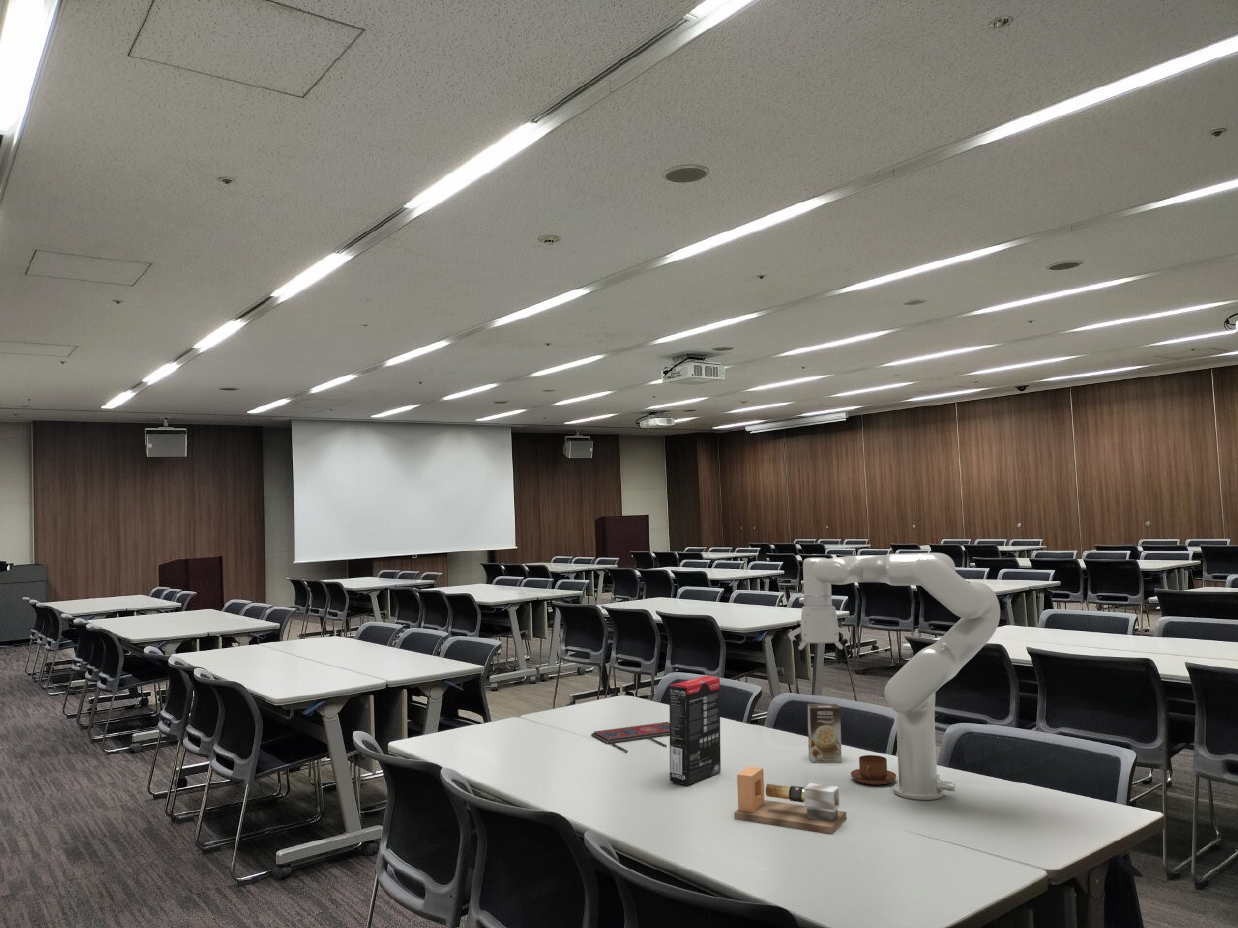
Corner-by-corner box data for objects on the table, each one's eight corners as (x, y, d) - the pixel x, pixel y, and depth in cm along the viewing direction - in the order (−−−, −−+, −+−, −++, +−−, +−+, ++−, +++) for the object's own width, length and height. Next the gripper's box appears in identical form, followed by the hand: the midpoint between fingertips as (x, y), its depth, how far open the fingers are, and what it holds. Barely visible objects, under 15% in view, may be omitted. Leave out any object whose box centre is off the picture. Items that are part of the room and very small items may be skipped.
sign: (706, 736, 286) (623, 748, 273) (706, 743, 285) (623, 755, 273) (668, 721, 310) (590, 731, 297) (668, 726, 309) (590, 737, 297)
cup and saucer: (899, 788, 231) (897, 765, 231) (852, 787, 233) (851, 763, 234) (894, 775, 243) (893, 753, 243) (849, 774, 245) (848, 752, 246)
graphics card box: (703, 768, 254) (700, 674, 256) (723, 772, 249) (720, 676, 251) (669, 783, 240) (666, 683, 242) (689, 787, 236) (686, 685, 238)
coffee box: (811, 762, 257) (809, 707, 258) (808, 756, 264) (806, 703, 265) (842, 762, 256) (840, 707, 257) (839, 757, 263) (837, 703, 264)
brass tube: (836, 804, 206) (836, 789, 206) (832, 808, 203) (831, 793, 203) (770, 795, 214) (770, 780, 214) (765, 799, 211) (765, 784, 211)
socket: (764, 802, 217) (763, 767, 218) (752, 812, 210) (751, 776, 211) (750, 800, 219) (749, 766, 220) (738, 809, 212) (737, 774, 213)
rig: (846, 817, 209) (845, 782, 209) (832, 833, 198) (830, 796, 199) (752, 804, 221) (751, 770, 221) (734, 818, 210) (733, 783, 211)
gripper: (788, 603, 241) (790, 665, 240) (851, 602, 240) (854, 665, 239) (785, 601, 249) (788, 661, 248) (847, 600, 247) (849, 660, 246)
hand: (820, 663), depth 243 cm, fingers open, 9 cm apart
